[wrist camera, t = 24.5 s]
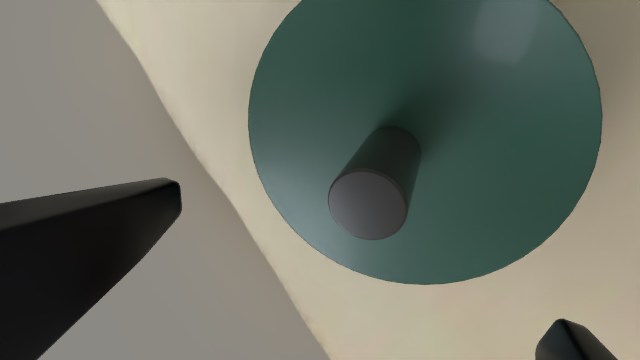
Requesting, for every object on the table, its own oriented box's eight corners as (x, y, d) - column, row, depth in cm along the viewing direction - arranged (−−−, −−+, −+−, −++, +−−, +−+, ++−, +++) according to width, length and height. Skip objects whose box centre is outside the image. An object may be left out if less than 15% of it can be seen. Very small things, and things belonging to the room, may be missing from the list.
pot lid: (461, 312, 16) (463, 428, 12) (239, 196, 19) (166, 254, 14) (707, 43, 9) (963, 64, 5) (301, -94, 12) (195, -175, 7)
